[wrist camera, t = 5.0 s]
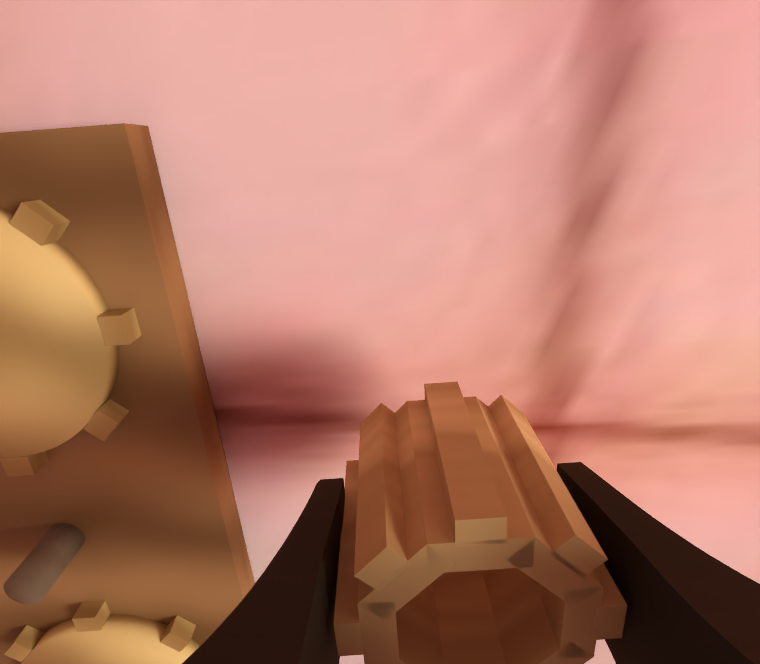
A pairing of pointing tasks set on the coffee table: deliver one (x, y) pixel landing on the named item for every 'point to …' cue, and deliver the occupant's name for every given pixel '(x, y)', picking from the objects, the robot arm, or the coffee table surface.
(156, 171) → the gear board
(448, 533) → the maple gear
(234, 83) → the coffee table surface
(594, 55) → the coffee table surface
